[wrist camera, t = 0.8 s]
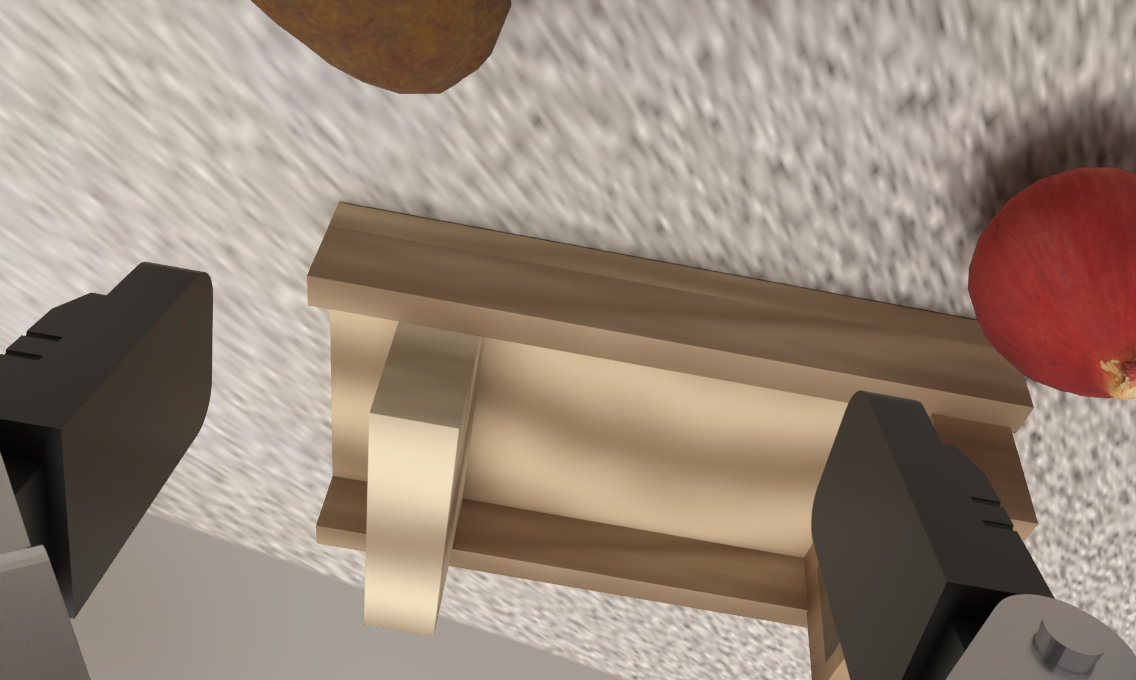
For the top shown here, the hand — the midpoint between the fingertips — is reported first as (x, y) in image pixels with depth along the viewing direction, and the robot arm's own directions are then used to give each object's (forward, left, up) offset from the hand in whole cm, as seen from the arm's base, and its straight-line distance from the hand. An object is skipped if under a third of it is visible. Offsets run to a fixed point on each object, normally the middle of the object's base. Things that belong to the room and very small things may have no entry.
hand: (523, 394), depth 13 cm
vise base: (+18, +4, -17) cm, 25 cm away
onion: (+6, +14, -17) cm, 23 cm away
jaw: (+18, -3, -15) cm, 24 cm away
